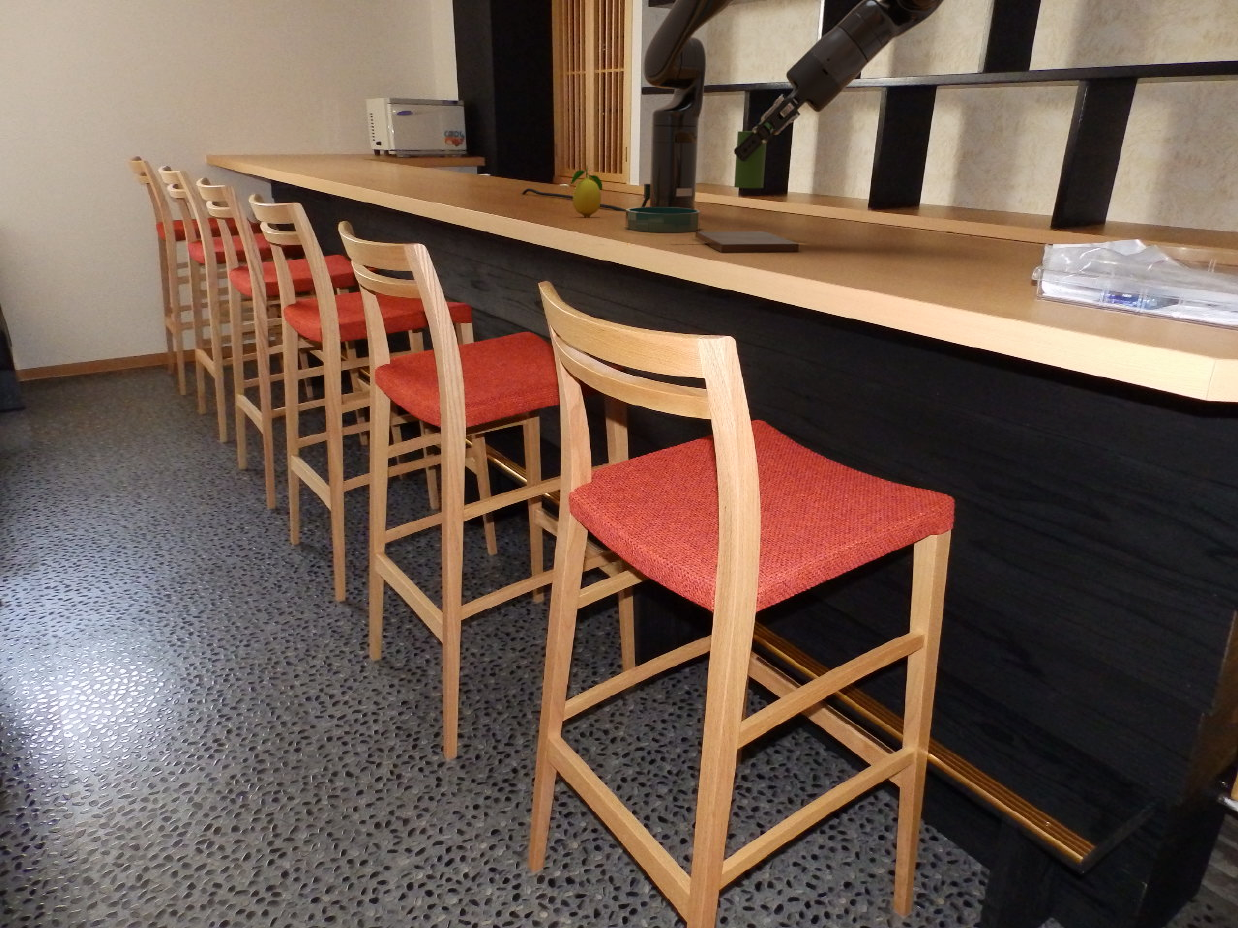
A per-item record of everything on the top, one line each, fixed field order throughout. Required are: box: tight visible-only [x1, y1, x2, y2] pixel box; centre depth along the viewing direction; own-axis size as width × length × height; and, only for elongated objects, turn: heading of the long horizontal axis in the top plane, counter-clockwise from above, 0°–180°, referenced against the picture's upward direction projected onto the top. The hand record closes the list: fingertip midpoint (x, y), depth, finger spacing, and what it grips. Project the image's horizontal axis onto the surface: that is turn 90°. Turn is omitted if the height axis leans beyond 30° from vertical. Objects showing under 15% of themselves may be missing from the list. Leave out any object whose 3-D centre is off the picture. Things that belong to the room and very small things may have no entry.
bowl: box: [624, 206, 702, 234], centre depth 149 cm, size 13×13×4 cm
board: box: [695, 230, 800, 253], centre depth 132 cm, size 16×12×1 cm
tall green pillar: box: [733, 130, 767, 189], centre depth 128 cm, size 4×4×8 cm
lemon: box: [570, 165, 603, 218], centre depth 165 cm, size 7×6×10 cm
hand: (738, 156), depth 128 cm, fingers closed on tall green pillar, 4 cm apart
